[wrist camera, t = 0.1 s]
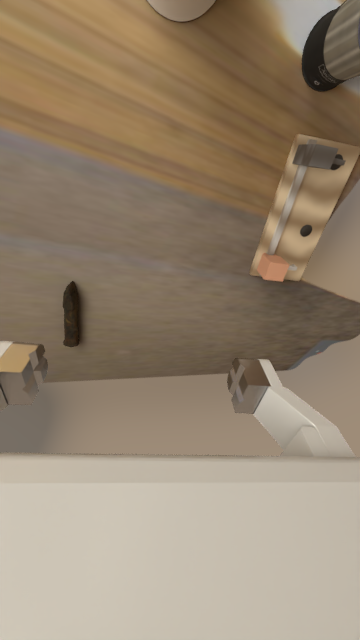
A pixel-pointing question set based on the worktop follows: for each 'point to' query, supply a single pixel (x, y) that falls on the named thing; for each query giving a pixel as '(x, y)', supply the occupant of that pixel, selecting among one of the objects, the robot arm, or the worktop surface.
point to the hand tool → (70, 316)
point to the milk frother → (333, 48)
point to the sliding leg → (273, 267)
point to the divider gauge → (305, 200)
